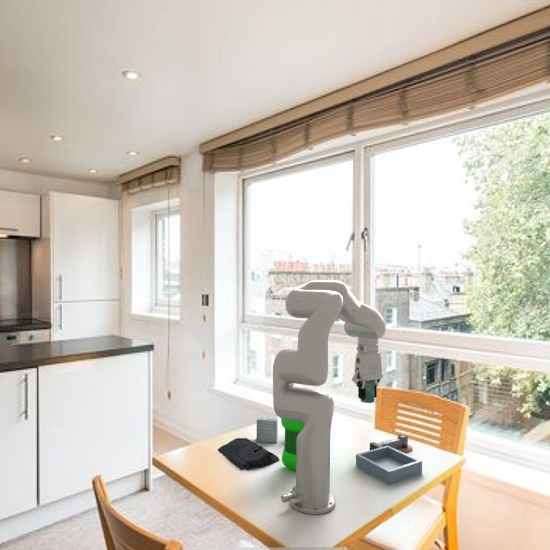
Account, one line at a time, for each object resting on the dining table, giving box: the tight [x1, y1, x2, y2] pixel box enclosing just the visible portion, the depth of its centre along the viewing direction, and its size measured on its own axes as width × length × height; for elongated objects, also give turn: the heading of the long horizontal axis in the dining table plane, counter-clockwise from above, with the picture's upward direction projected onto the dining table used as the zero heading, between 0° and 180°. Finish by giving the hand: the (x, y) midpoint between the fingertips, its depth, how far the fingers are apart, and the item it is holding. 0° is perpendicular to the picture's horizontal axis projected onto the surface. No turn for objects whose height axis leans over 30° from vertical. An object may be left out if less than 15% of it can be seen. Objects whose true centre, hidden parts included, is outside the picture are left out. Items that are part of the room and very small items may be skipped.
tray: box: [355, 446, 423, 486], centre depth 140 cm, size 15×15×4 cm
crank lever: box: [369, 433, 409, 451], centre depth 155 cm, size 16×5×4 cm, turn 121°
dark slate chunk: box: [217, 437, 280, 472], centre depth 151 cm, size 15×22×5 cm
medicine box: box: [255, 416, 279, 444], centre depth 165 cm, size 8×4×9 cm, turn 84°
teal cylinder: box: [360, 380, 375, 404], centre depth 158 cm, size 5×5×8 cm
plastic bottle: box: [280, 418, 305, 473], centre depth 141 cm, size 10×10×25 cm
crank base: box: [397, 444, 413, 453], centre depth 158 cm, size 7×7×1 cm
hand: (367, 397), depth 158 cm, fingers closed on teal cylinder, 5 cm apart
